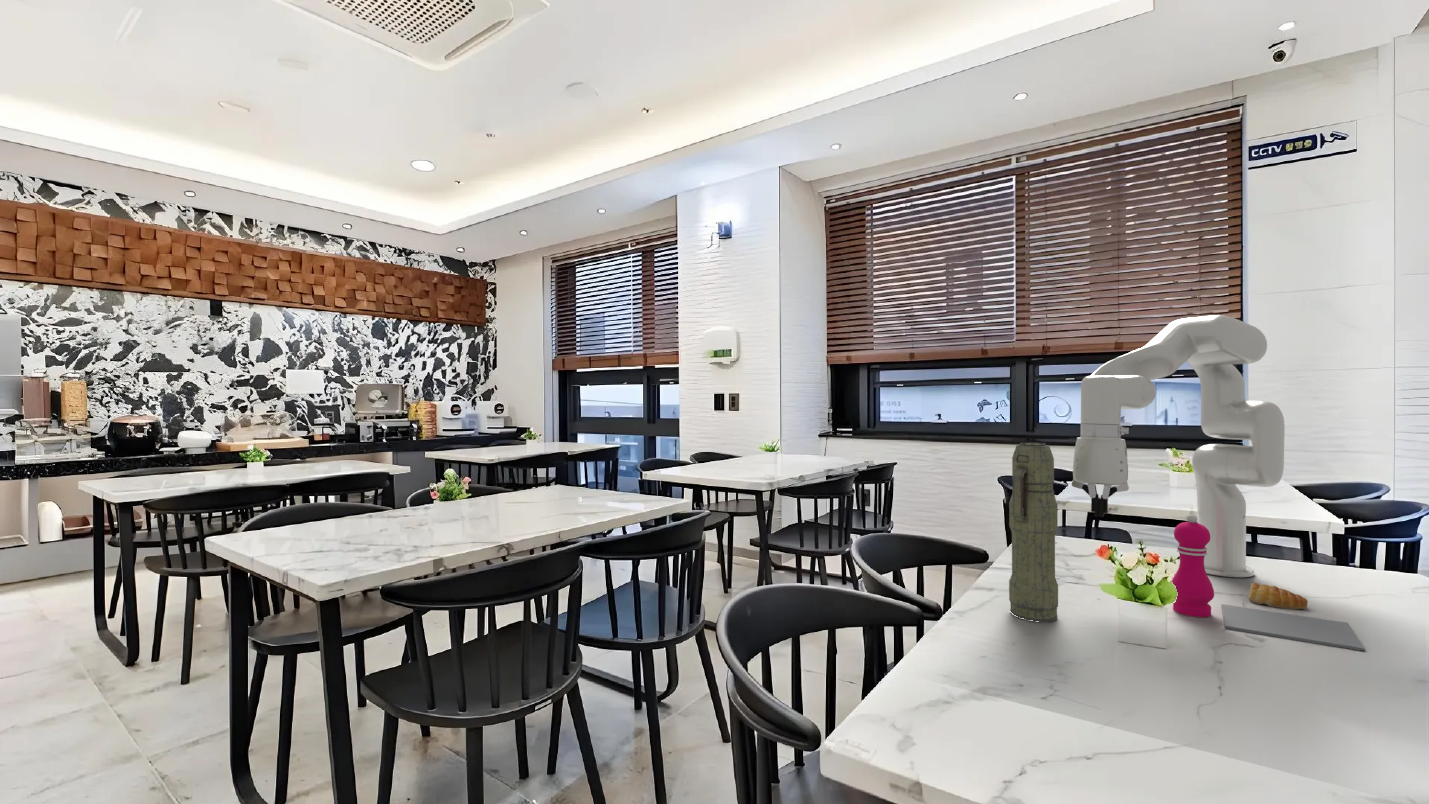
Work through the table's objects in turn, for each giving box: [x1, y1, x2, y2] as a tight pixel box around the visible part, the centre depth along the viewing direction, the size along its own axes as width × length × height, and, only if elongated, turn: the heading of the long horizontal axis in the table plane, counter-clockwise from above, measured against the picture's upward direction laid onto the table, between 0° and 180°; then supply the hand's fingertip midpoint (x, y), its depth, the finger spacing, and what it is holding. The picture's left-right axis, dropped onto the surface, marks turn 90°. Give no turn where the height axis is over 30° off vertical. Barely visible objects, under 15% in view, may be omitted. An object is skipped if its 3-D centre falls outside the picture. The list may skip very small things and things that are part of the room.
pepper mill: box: [1171, 514, 1215, 618], centre depth 131 cm, size 7×7×20 cm
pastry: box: [1247, 582, 1309, 610], centre depth 136 cm, size 9×7×4 cm
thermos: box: [1008, 442, 1059, 623], centre depth 130 cm, size 9×12×35 cm
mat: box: [1221, 603, 1366, 652], centre depth 123 cm, size 15×19×1 cm
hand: (1099, 515), depth 140 cm, fingers closed
